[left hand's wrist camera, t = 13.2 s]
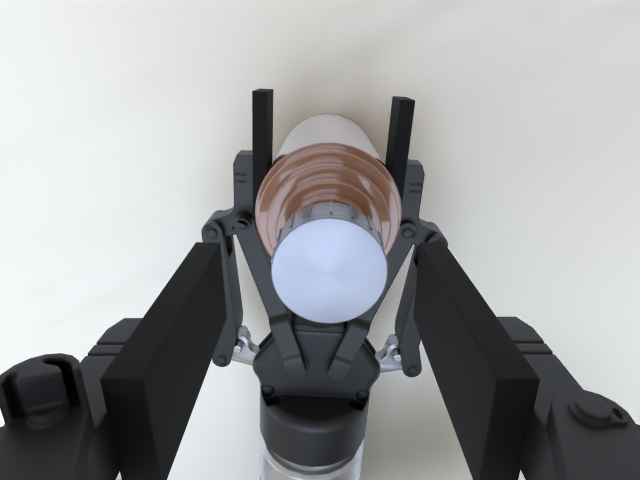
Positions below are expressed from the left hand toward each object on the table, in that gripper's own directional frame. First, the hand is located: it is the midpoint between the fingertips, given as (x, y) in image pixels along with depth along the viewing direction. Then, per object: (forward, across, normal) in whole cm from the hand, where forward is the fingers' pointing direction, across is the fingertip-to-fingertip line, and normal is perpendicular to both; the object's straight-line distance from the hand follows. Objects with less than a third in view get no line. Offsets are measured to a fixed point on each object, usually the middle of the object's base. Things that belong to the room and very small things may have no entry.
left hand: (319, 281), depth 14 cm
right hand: (+12, -1, -5) cm, 13 cm away
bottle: (+19, 0, 0) cm, 19 cm away
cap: (+1, 0, 0) cm, 1 cm away
